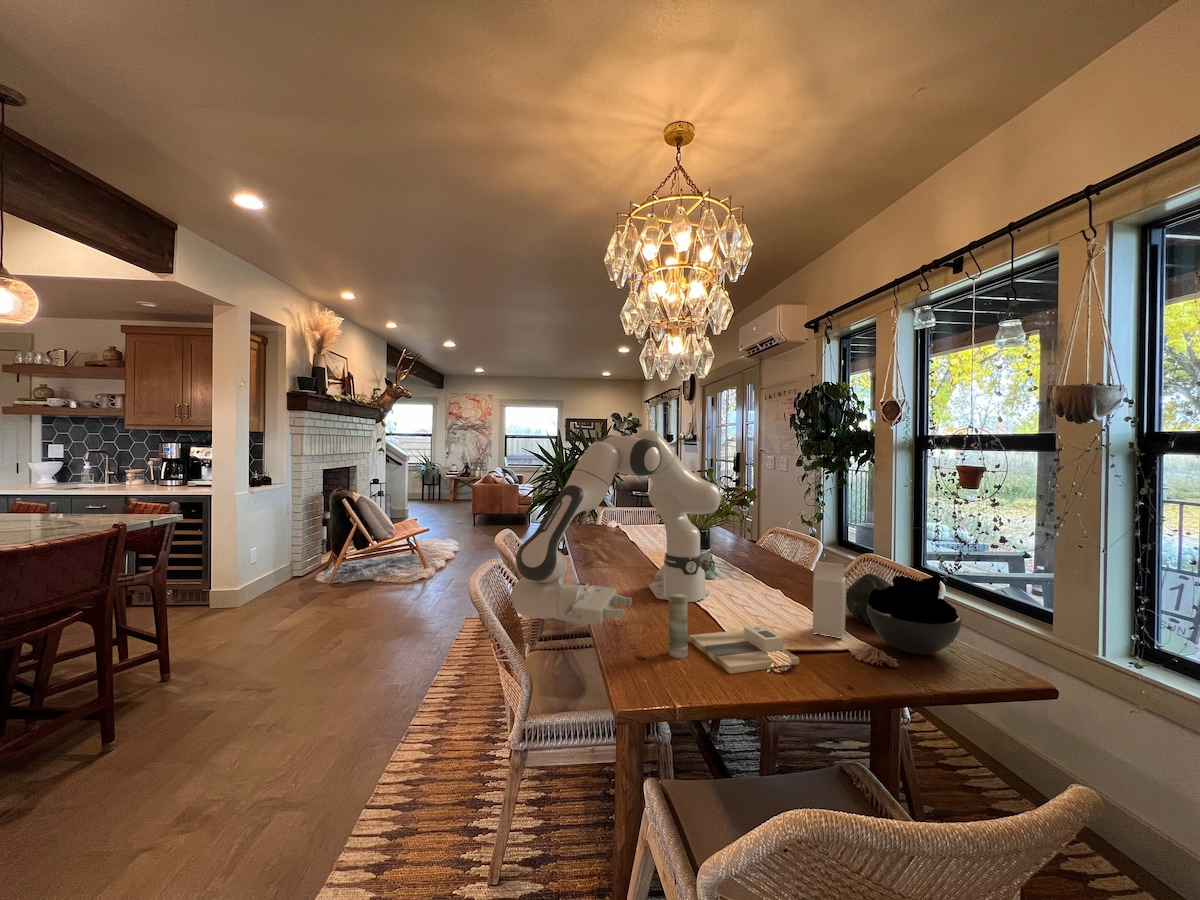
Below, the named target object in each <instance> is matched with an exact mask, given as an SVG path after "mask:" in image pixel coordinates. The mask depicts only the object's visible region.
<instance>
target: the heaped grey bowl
mask: <svg viewBox="0 0 1200 900" xmlns="http://www.w3.org/2000/svg"><path fill="white" fill-rule="evenodd" d="M891 581H892V586H888V587H887V588H886V589H882V590H878V589H876V588H875V589H874V590H873V591H872V592H871V594H870V595H869V603H868V604H867V612H868V616H869V619H870V622H871V624H872V625H871V626H872V627H873V629H874V630H875V632H876V634H878V635H879V636H880V638H881V639H883V641H885V642H886V643H887V644H889V645H890V646H892V648H893V647H894V648H896V649H897V650H899V651H902V652H905V653H908V654H912V655H928V654H934V653H937V652H939V651H942V650H944V649H946V648H947V647H948V646H950V645H951V644H952V643H953V642H954V641H955V639H956V638H957V636H958V634H959V632H960V631H961V627H962V626H961V625H962V622H963V621H962V619H963V618H962V617H961V616H960V614H958V613H957V609H956V608H955V607H953V606H952V605H951V603H948V602H947V601H946V600H945V599H943V598H939V595H940V589H941V585H940V583H941V582H942V576H941V575H939V574H938V575H933V576H931V577H927V578H922V580H918V579H917V580H916V579H914V578H911V577H909V576H904V575H894V577H893V578H892V580H891Z"/></svg>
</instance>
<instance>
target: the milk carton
mask: <svg viewBox="0 0 1200 900" xmlns="http://www.w3.org/2000/svg"><path fill="white" fill-rule="evenodd" d="M845 571H846V570H845V564H842V563H832V562H824V561H823V562H822V561H815V567H814V571H813V579H812V580H813V581H812V588H813V589H812V634H813V633H818V634H825V635H830V636H835V637H841V638H842V639H843V637H842V636H844V635H845V632H846V593H847V590H846V589H847V588H846V586H847V585H846V584H847V581H846V579H847V578H846V572H845ZM843 634H844V635H843Z"/></svg>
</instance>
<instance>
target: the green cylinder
mask: <svg viewBox="0 0 1200 900" xmlns="http://www.w3.org/2000/svg"><path fill="white" fill-rule="evenodd" d="M667 646H668V650H667V653H668V656H669V657H670V658H674V659H684V658H687V657H688V653H689V651H688V650H689V649H688V647H689V646H688V602H687V596H686V595H682V594H672V595H670V596H669V600H668V644H667Z"/></svg>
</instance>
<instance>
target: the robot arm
mask: <svg viewBox="0 0 1200 900" xmlns="http://www.w3.org/2000/svg"><path fill="white" fill-rule="evenodd" d="M616 473H619V474H623V475H636V476H639V477H648V478H649V479H650V481H651V482H652V484H651V485H650V488H649V490H648V498H649V499H648V500H649V502H650V504H651V505H652V507H653V508H655V510H656V511H657V512H658V514H659V516H660V517H661V520H662V521H663V525H664V529H665V532H666V534H665V536H666V552H665V553H664V561H663V565H662V566H661V567H660V568H659V569H658V570H657V571H656V573H655V574H654V575H653V581H654V583H650V584H648V585H649V587H648V588H649V589H650V590H651V592H652V594H653V595H654V597H656V599H658V600H667V601H669V596H670V595H672V594H682V595H686V596H687V603H695V602H699V601H698V600H700V601H702V600H701V599H703V598H704V597H705V598H706V597H707V596H709V595H710V592H709V590H707V588H706V587H707V586H706V574H705V570H704V569H703V568H702V565H703V564H702V561H703V559H702V554H701V532H700V530H699V528H698V527H697V526H696V525H694V524H693V523H692V522H691V521H690V519H689V517H688V514H691V515H708V514H713V513H716V511H717V510H718V509H719V507H720V504H721V502H722V495H721V491H720V489H719V487H718V486H717V485H716V484H715V483H712V482H709V481H708V480H705V479H703V478H701V477H700V476H698V474H696V473H694V472H693V471H692V470H690V469H689V468H688V467H687V466H686V465H685V464H684V462H682V460H680V458H679V456H678V455H677V453H676V452H675V451H674V449H673V447H672V446H671V444H669V443H668V441H667V439H665V438H664V437H663V436H662V435H661V433H659V432H657V431H656V430H652V429H646V430H643V431H641V432H640V433H638V434H637V435H636V436H632V435H631V436H630V435H614V434H608V435H603V436H602V437H600V438H599V439H598V440H597V441H593V442H592V443H591V444H589V446H588V447H587V449H585V451H584V452H583V454H581V457H580V458H579V460H578V461H577V463H576V465H575V466H574V469H573V470H572V472H571V474H570V476H569V478H568V480H567V482H566V483H565V485H564V487H563V489H561V490H560V493H559V494H558V495H557V497H556V498H555V500H554V501H553V503H552V505H551V506H550V507H549V509H548V511H547V513H546V515H544V517H543V519H542V521H541V522H540V524H539V526H538V527H537V529H536V530H535V531H534V532H533V534H532V535H531V536H529V538H527V539H526V540H525V541H524V542H523V543H522V544H521V545H520V547H519V548H518V550H517V553H516V556H515V564H516V568H517V569H516V570H517V571H518V572H519V574H520V575H521V576H522V577H521V578H520V579H519V580H518V581H517V582H516V583H515V584H514V585H513V586H512V589H511V604H512V607H513V609H514V610H515V611H516V613H517V614H519V615H521V616H524V617H529V618H534V619H544V620H546V619H556V620H558V621H567V622H574V623H579V624H583V625H590V626H592V625H593V626H598V625H601V624H602V623H603V621H604V620H605V619H615V618H621V619H623V618H624V617H625V614H626V610H625V608H623V607H622V608H620V607H617V608H613V607H614V606H615V605H622V606H624V607H631V605H632V604H633V603H632V598H631V597H627V596H623V595H620V594H618V590H617V589H616V588H613V587H610V586H602V585H590V584H589V583H588V582H580V583H577V584H574V583H573V584H570V583H569V584H565V583H566V579H567V577H568V571H569V563H568V562H569V561H568V559H567V558H566V556H565V554H564V553H562V551H560V550H559V549H558V547H559V543H560V541H561V540H562V538H563V537H564V535H565V532H566V531H567V530H568V528H569V526H570V524H571V522H572V520H574V518H575V516H577V515H578V514H579V513H583V512H588V511H592V510H595V509H596V508H598V507H599V506H600V504H601V503H602V502H603V501H604V498H605V497H606V495H607V494H608V491H609V489H610V487H611V485H612V483H613V481H614V478H615V475H616ZM708 594H709V595H708ZM706 595H707V596H706ZM705 598H704V599H705ZM704 599H703V600H704Z"/></svg>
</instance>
